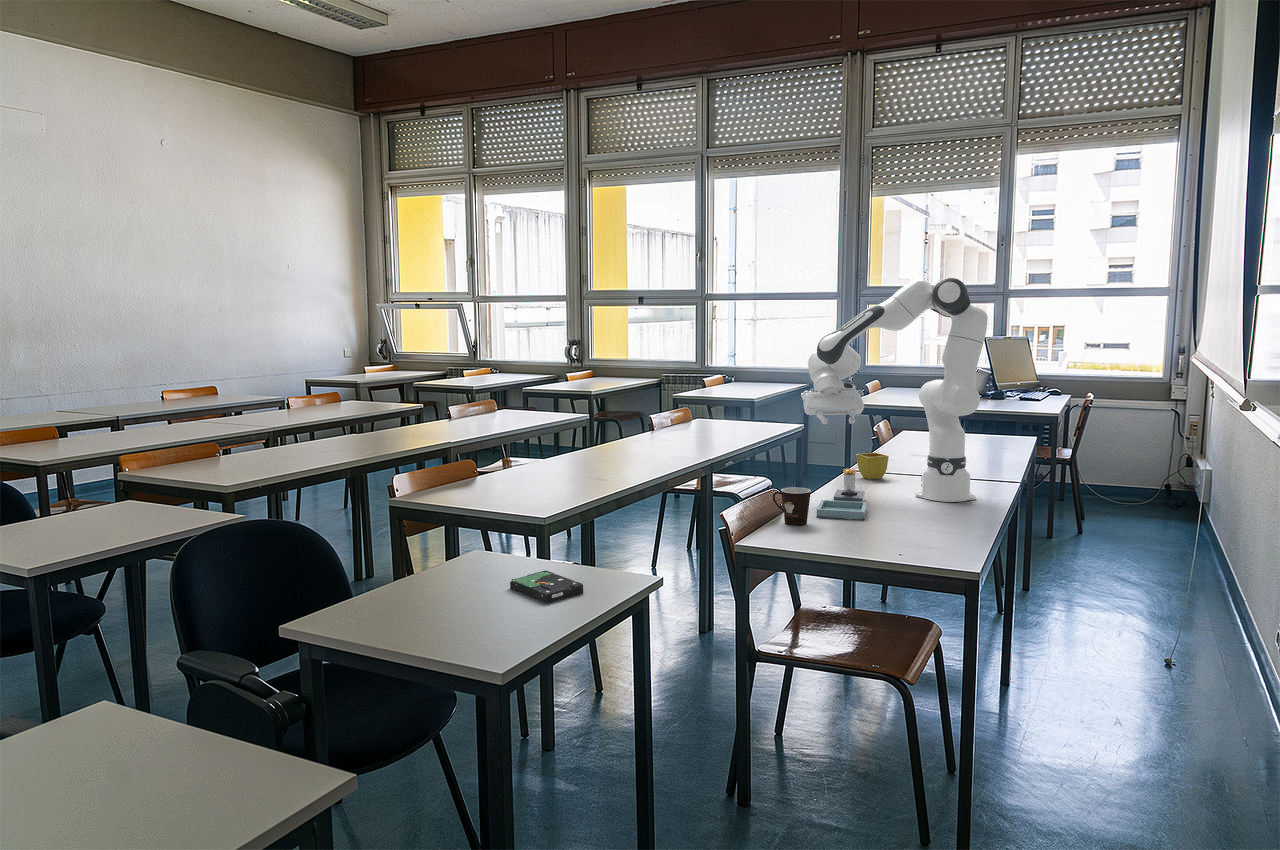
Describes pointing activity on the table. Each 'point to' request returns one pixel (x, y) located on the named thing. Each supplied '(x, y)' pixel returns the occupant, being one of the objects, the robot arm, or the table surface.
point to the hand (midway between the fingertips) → (839, 422)
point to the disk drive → (546, 586)
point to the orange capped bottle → (849, 481)
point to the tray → (842, 509)
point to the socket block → (841, 497)
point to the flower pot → (872, 465)
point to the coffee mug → (794, 505)
